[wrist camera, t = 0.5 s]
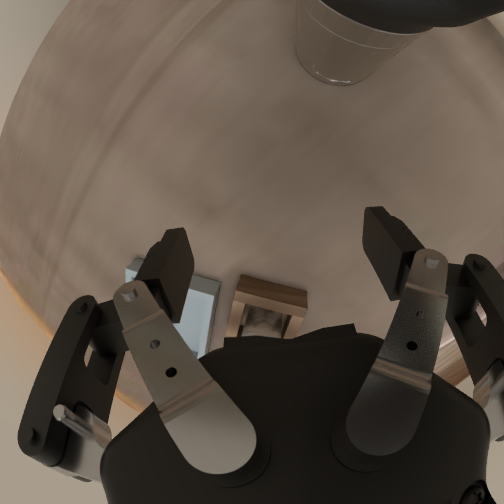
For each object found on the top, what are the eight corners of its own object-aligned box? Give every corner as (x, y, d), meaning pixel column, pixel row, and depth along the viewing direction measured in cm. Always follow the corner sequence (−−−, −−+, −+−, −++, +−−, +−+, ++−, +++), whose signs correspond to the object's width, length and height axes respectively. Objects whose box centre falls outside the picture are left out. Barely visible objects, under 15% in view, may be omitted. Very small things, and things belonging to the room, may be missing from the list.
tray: (137, 257, 38) (125, 268, 34) (220, 282, 37) (214, 295, 34) (139, 331, 44) (130, 343, 41) (207, 354, 43) (202, 369, 40)
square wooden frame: (241, 274, 36) (235, 290, 32) (306, 291, 36) (307, 308, 32) (229, 325, 40) (223, 342, 36) (287, 339, 39) (286, 358, 36)
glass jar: (251, 294, 36) (229, 372, 23) (288, 303, 36) (283, 385, 23) (243, 323, 38) (221, 401, 25) (278, 331, 38) (269, 412, 25)
